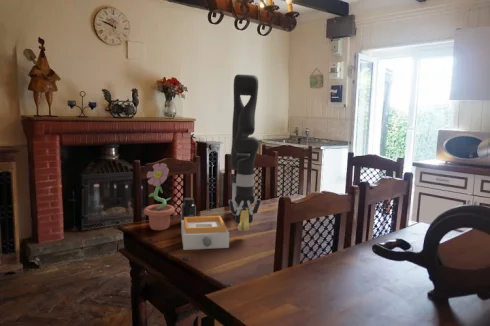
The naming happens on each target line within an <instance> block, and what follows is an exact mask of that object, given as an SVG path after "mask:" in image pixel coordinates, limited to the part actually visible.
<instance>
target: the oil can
mask: <svg viewBox="0 0 490 326" xmlns="http://www.w3.org/2000/svg"><path fill="white" fill-rule="evenodd" d="M249 215H250V211H249V209H248V208H247V206H243V208H241V211H240V213H239V224H238V227H237V229H238V231H239V232H247V231H249V230H250V223H249Z"/></svg>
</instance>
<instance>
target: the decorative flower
mask: <svg viewBox="0 0 490 326" xmlns="http://www.w3.org/2000/svg"><path fill="white" fill-rule="evenodd" d="M152 168H153V171H147V173H146V178H147V179H148V180H147V183H148V184H149V185H152V186H154V187H155V189H154V191H153V192H151V193H150V194H149V195H148V197H149V198H151V197H153V198H154V200H156V201H157V202H161V203H159V204H156V203H155V204H151V205H148V206H146V207H144V209H143V214H144V215H146V216H148V221H149V227H150V229H151V230H154V231H164V230H168V229H169V227H170V225H171V215H173V214H174V213H175V212H176V208H175V207H174V206H173V205H171V204H167V201H169V200H171V199H172V197H168V198H166V199H165V198H163V197H162V198H161V197H159V196H158V194H159V191H160V193H161V194H163V193H164V192H163V191H164V190H163V188H162V186H161V185H162V184H163V183H164V182H165V181H166V180H167V178H168V175H169V171H170V170H169V168H168V165H167V164H166V163H164V162H162V163H157V162H156V163H155V164H153V165H152Z"/></svg>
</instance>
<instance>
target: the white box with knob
mask: <svg viewBox="0 0 490 326" xmlns="http://www.w3.org/2000/svg"><path fill="white" fill-rule="evenodd" d="M180 222H181V226H180V229H181V230H180V231H181V240H182V248H183V250H184V251H188V250H209V249H211V250H212V249H229V248H230V232H229V230H228V228H227V225H226V224H225V222H224V220H223V218H222V216H221V215H207V216H196V217H184V220H181V219H180Z"/></svg>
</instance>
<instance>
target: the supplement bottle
mask: <svg viewBox="0 0 490 326" xmlns="http://www.w3.org/2000/svg"><path fill="white" fill-rule="evenodd" d="M196 213H197V206H196V204H195V199H194V198H193V197H184V198H183V203H182V204H181V213H180V214H181V215H180V221H181V220H184V217H197V216H196Z"/></svg>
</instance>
